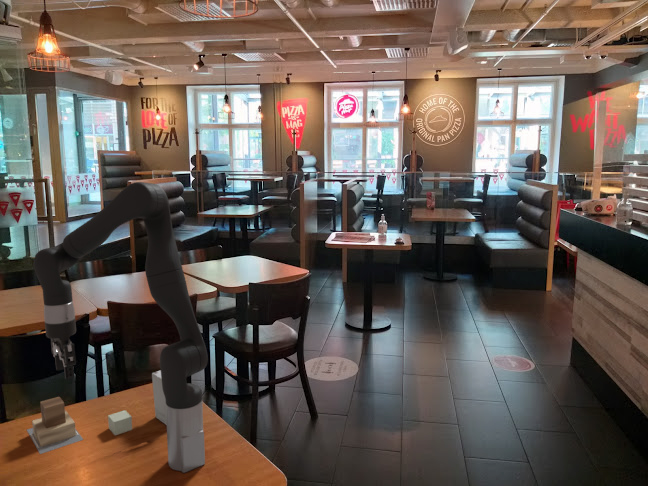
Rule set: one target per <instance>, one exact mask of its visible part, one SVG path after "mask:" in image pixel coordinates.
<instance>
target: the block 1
mask: <svg viewBox="0 0 648 486" xmlns="http://www.w3.org/2000/svg"><path fill="white" fill-rule="evenodd" d="M39 403H40V404H39V405H40V412H41V413H40V414H41V415H40V417H41V418H42V422H43V424H44V425H45V427H46V428H49V427H53V426H56V425H59V424H62V423H66V418H65V411H66V407H65V402H64V401H63V399H62V398H61V397H60V396H56V397H53V398H49V399H45V400H42V401H40V402H39Z"/></svg>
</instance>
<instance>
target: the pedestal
mask: <svg viewBox="0 0 648 486" xmlns="http://www.w3.org/2000/svg"><path fill="white" fill-rule="evenodd" d="M65 418H66V423H62V424H59V425H56V426H53V427H49V428H46V427H45V425H44V424H43V422H42V417H40V418H36V419H34V420H32V421H31V425H32V428H33V434H34V436H35V437H36V439H37V441H38V443H39V444H40V446H41V447H43V446H46V445H49V444H52V443H55V442H58V441H61V440H64V439H67V438H70V437H73V436H76V430H77V429H76V422H75V421H74V419H73V418H72V416H70V414H69V413H68V410H65ZM75 429H76V430H75Z"/></svg>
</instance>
